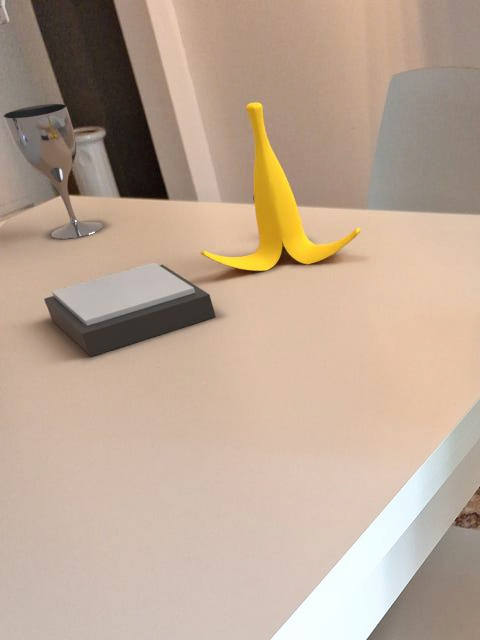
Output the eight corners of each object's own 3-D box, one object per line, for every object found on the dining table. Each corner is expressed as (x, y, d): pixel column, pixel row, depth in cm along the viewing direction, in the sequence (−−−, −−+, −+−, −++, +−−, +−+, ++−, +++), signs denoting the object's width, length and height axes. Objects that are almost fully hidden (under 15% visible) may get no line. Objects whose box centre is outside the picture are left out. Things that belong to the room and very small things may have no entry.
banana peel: (204, 282, 109) (160, 124, 98) (281, 230, 122) (250, 85, 111) (328, 288, 104) (296, 122, 93) (395, 233, 117) (374, 82, 106)
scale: (90, 357, 95) (79, 327, 93) (52, 320, 104) (41, 293, 102) (216, 317, 100) (208, 288, 98) (169, 285, 109) (161, 258, 107)
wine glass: (116, 221, 132) (78, 102, 122) (84, 240, 126) (41, 117, 117) (70, 221, 134) (28, 104, 124) (36, 239, 128) (-10, 119, 119)
